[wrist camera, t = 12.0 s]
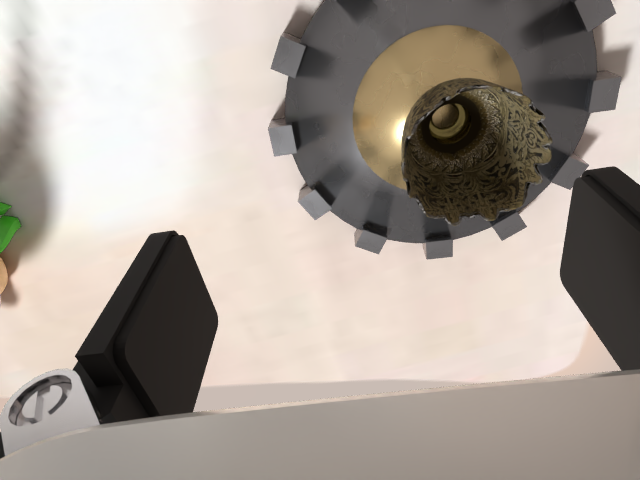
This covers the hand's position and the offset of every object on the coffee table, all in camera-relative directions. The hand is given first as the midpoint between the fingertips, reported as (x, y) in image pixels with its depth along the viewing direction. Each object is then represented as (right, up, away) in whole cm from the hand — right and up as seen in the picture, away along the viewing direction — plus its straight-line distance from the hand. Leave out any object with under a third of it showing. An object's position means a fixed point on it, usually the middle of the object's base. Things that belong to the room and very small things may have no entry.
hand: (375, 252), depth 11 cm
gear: (+6, +9, +19) cm, 22 cm away
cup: (+7, +9, +18) cm, 21 cm away
